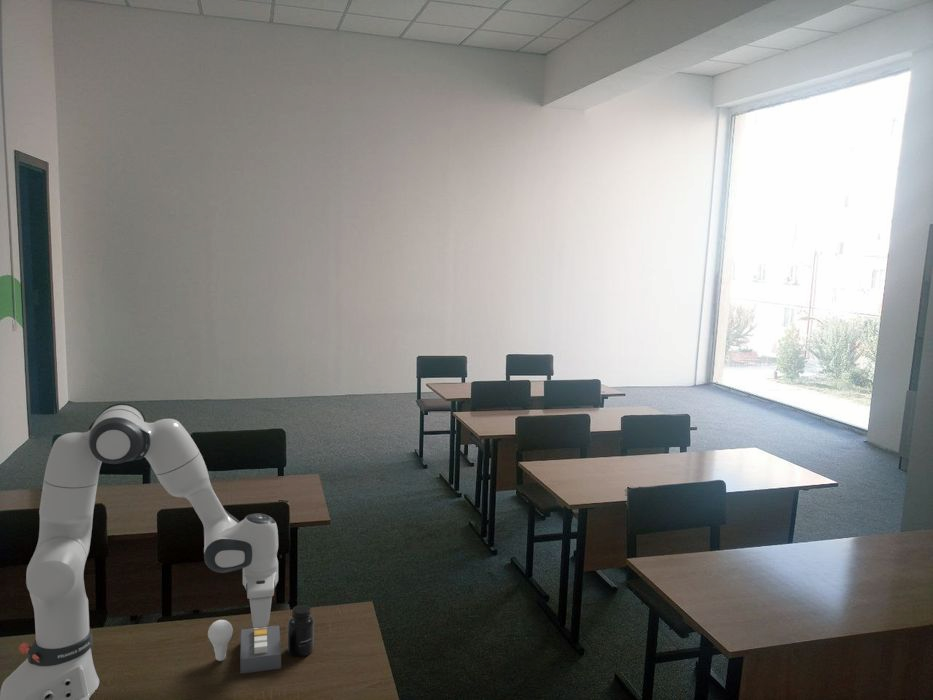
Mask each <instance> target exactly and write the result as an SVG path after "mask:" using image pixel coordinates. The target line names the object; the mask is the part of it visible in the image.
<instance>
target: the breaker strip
mask: <svg viewBox="0 0 933 700" xmlns="http://www.w3.org/2000/svg"><path fill="white" fill-rule="evenodd" d="M281 648H282V647H281V632H280V625H270V626H269V625H268V626H267V627H263V628H254V627H252V628H243V629H241V630H240V657H239V658H240V659H239V661H240V663H239V664H240V665H239V668H240V670H239V671H240V672H239V673H240V674H247V673H249V674H250V673H256V672H263V671H270V670H278V669H279V670H280V669H282V649H281Z"/></svg>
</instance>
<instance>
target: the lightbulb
mask: <svg viewBox="0 0 933 700" xmlns="http://www.w3.org/2000/svg"><path fill="white" fill-rule="evenodd" d="M233 633H234V630H233V625H232V624H231V622H230V621H228V620H226V619H218V620H216V621H214V622H212V624H210V626H209V628H208V631H207V637H208V640H209V641H210V642H211V645H212V646H213V652H214V653H215V655H214V656H215V660H216V661H219V662H222V661H224V660H225V659H226V656H227V650H228V644H229V642H230V640H231V638H232V636H233Z"/></svg>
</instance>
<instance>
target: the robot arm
mask: <svg viewBox="0 0 933 700" xmlns="http://www.w3.org/2000/svg"><path fill="white" fill-rule="evenodd" d="M143 458H145V459H146V461H147V462H148V463H149V465H150V466H151V469H152V470H153V472H154V474H155V476H156V477H157V480H158V482H160V484H161V486H162V487H163V488H164V489H165V490H166V492H167V493H168V494H169V495H171V496H173V497H175V498H185V499H187V501H189V503H190V504H191V506H192V507H193V509H194V511H195V513H196V514H197V516H198V518H199V519H200V521H201V523H202V525H203V543H204V544H203V545H204V547H203V559H204V563H205V565H206V566H207V568H208V569H210V570H211V571H213V572H216V573H222V574H224V573H229V572H230V573H231V572H233V571H239V570H242V586H244V588H245V591H246V596H247V599H249V606H250V614H251V616H250V617H251V622H252V628H263V627H268V626H269V624H270V623H269V622H270V616H271V609H272V599H273V596H275V590H276V589H275V588H276V586H277V584H278V582H279V560H278V557H277V556H278V550H279V534H278V533H279V530H278V525H277V522H276V521H275V519H274V518H273V517H271V516H270V515H267V514H265V513H255V512H254V513H251V514H247V515H246V516H245V517H244V519H242V520H239V519H238V518H236V517H235V516H233V515H232V514H231V513H229V511H227V510H226V508H225V507H224V505H223V504H222V502H221V500H220V498H219V497H218V495H217V493H216V491H215V490H214V488H213V485H212V484H211V480H210V476H209V470H208V468H207V465H206V462H205V460H204V456H203V455H202V453H201V452H200V449H199V448H198V446H197V444H196V443H195V441H194V439H193V438H192V437H191V434H189V432H188V431H187V430H186V428H185V427H184V426H183V424H181V422H180V421H178V420H177V419H174V418H162V419H159V420H156V421H154V422H147V421H146V418H145V415H144V414H143V412H142V411H141V409H139V408H138V407H137V406H135V405H134V404H131V403H127V402H120V403H119V402H118V403H114V404H112V405H110V406H108V407H106V408H105V409H103V411H101V412H100V414H98V416H97V417H96V419H95V420H94V421H93V422H92V423H91V424H90V425H89V427H88V431H85V432H75V431H74V432H68V433H65V434H62V435H60V436H59V437H57V439H56V440H54V443H53V445H52V448H51V449H50V453H49V456H48V457H47V462H46V466H45V472H44V476H43V483H42V491H41V496H40V504H39V511H38V514H39V531H38V539H37V540H38V541H37V544H36V547H35V550H34V552H33V555H32V557H31V558H30V561H29V563H28V565H27V567H26V574H25V576H26V579H25V584H26V588H27V591H28V592H29V596H30V599H31V603H32V607H33V612H34V613H33V614H34V628H35V639H34V642H33V643H32V645H29V644H28V643H27V642H23V643H21V644H20V646H19V647H18V650H19V652H21V654H23V655H27V658H26V659H25V660H24V661H23V662H22V663H21V664H20V665H19V666H18V667H17V668H16V669H15V670H14V671H12V672H11V674H10V675H9V676H7V677H6V678H5V679H4V681H3V682H2V684H1V688H0V700H90V699H91V696H92V695H93V694H94V693H95V692H96V691H95V690H97V689H98V687H99V685H100V678H99V676H98V674H97V671H96V668H95V665H94V661H93V659H94V658H93V655H92V650H93V634H92V628H91V627H90V611H89V599H88V596H87V593H86V588H85V580H84V578H85V577H84V573H85V572H84V571H85V566H86V562H87V558H88V556H89V553H90V548H91V547H90V546H91V540H92V539H91V538H92V530H93V522H94V521H93V518H94V509H95V503H96V498H97V496H96V495H97V489H98V483H99V478H100V477H99V476H100V470H101V466H102V463H104V464H111V465H116V464H123V463H126V462H131V461H137V460H142V459H143ZM89 698H90V699H89Z"/></svg>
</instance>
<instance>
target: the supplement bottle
mask: <svg viewBox="0 0 933 700" xmlns="http://www.w3.org/2000/svg"><path fill="white" fill-rule="evenodd" d="M291 612H292V613H291V616H290V618H289V620H288V622H287V652H288V654H289V655H290V656H292V657H296V658H302V657H307V656H308V655H310V654H311V653H312V652H313V650H314V639H315V638H314V635H315V633H314V632H315V620H314V618H313V616H312V615H311V607H310V606H308V605H307V604H300V605H299V604H298V605H295V606H294V607H293V608H292V609H291Z"/></svg>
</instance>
